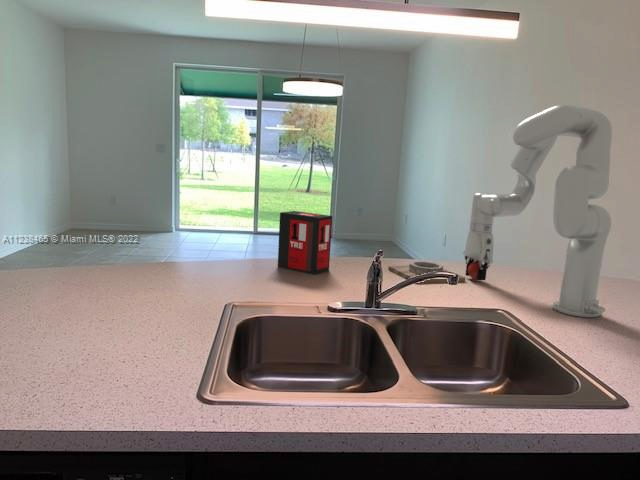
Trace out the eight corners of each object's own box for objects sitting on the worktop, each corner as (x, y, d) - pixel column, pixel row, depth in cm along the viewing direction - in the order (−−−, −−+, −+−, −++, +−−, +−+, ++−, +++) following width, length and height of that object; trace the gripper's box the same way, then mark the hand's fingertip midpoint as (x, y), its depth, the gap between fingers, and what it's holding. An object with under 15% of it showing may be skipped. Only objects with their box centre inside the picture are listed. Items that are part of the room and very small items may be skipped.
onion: (463, 279, 182) (465, 257, 180) (475, 278, 184) (477, 256, 183) (474, 283, 176) (476, 260, 175) (486, 282, 179) (489, 260, 177)
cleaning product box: (277, 267, 183) (280, 212, 180) (291, 263, 191) (294, 210, 187) (315, 274, 175) (319, 217, 171) (328, 270, 182) (332, 215, 179)
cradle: (464, 281, 178) (466, 270, 177) (415, 283, 171) (416, 272, 170) (433, 268, 196) (434, 258, 195) (388, 269, 189) (389, 259, 188)
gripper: (506, 232, 170) (499, 283, 173) (474, 224, 186) (469, 271, 189) (488, 232, 168) (481, 284, 171) (457, 224, 184) (452, 272, 187)
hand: (475, 277), depth 180 cm, fingers closed on onion, 5 cm apart
